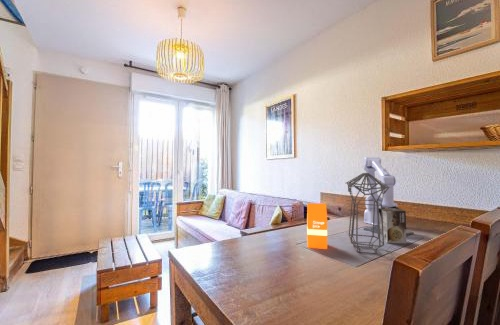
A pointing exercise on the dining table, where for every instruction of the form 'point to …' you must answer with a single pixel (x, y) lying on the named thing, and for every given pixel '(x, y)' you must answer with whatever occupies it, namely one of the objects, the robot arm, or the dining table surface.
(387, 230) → the coffee box
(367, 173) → the geometric lantern
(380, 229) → the stand base
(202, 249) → the dining table surface
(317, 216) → the orange juice
